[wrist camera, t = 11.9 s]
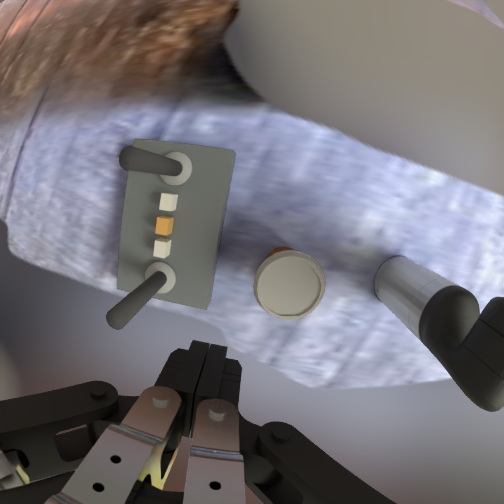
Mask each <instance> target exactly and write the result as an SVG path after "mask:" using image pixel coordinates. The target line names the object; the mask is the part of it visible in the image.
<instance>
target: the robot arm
mask: <svg viewBox="0 0 504 504" xmlns="http://www.w3.org/2000/svg"><path fill="white" fill-rule="evenodd" d="M374 289H375V293H376V295H377V297H378V298H379V299H380V301H381V302H382V303H383V304H384V305H385V306H387V308H388V309H389V310H390V311H391V312H392V313H393V314H394V315H395V316H396V317H397V318H398V319H399V320H400V321H401V322H402V323H403V324H404V325H405V326H406V327H407V328H408V329H409V330H410V331H411V332H412V333H413V334H414V335H415V336H416V337H417V338H418V339H419V340H420V341H421V342H422V343H423V344H424V345H425V346H426V347H427V348H428V349H429V350H430V352H431V353H432V354H433V355H434V356H435V357H436V358H437V359H438V360H439V362H440V363H441V364H442V365H443V367H444V368H445V369H446V370H447V372H448V373H449V374H450V376H451V377H452V378H453V380H454V381H455V382H456V384H457V385H458V386H459V387H460V389H461V390H462V391H463V392H464V394H465V395H466V396H468V398H470V400H471V401H472V402H473V403H475V404H476V405H477V406H479V407H480V408H482V409H484V410H487V411H490V412H494V411H498V410H500V409H501V408H502V407H503V406H504V297H495V298H493V299H491V300H490V302H489V303H488V304H487V305H486V307H485V308H484V309H483V311H482V313H481V314H480V309H479V304H478V301H477V299H476V298H475V296H474V295H473V294H472V293H471V292H469V291H468V290H466V289H464V288H462V287H461V286H459V285H457V284H455V283H454V282H452V281H450V280H448V279H446V278H444V277H442V276H440V275H439V274H437V273H435V272H433V271H431V270H429V269H427V268H425V267H423V266H422V265H420V264H418V263H416V262H414V261H412V260H410V259H408V258H406V257H402V256H396V257H392V258H390V259H388V260H387V261H386V262H384V263H383V264H382V265H381V267H380V268H379V270H378V271H377V273H376V276H375V280H374ZM209 347H210V348H209ZM226 353H227V347H226V346H220V345H215V344H211V345H210V343H205V342H201V341H196V340H193V341H192V343H191V345H190V348H189V350H185V349H180V348H178V349H177V350H175V351H174V352H172V353H171V354H170V356H169V358H168V360H167V362H166V364H165V365H164V367H163V369H162V371H161V373H160V375H159V377H158V379H157V381H156V383H155V385H154V386H153V387H149V388H147V389H145V390H144V391H143V392H142V394H141V395H140V396H121V395H118V392H117V390H116V388H115V387H114V386H112V385H111V384H109V383H107V382H103V381H90V382H86V383H83V384H78V385H74V386H70V387H66V388H62V389H57V390H53V391H48V392H44V393H39V394H34V395H29V396H24V397H19V398H14V399H8V400H3V401H0V504H245V486H244V481H245V483H246V485H247V486H248V487H249V488H250V489H251V490H252V492H253V493H254V494H255V495H256V496H257V497H258V498H259V499H260V500H261V501H262V502H263V503H264V504H396V503H395V502H393V501H391V500H390V499H388V498H387V497H385V496H384V495H382V494H381V493H379V492H378V491H376V490H375V489H374V488H372V487H371V486H369V485H368V484H366V483H365V482H364V481H362V480H361V479H359V478H358V477H357V476H355V475H354V474H353V473H351V472H350V471H348V470H347V469H346V468H344V467H343V466H342V465H340V464H339V463H338V462H337V461H335V460H334V459H333V458H331V457H330V456H329V455H328V454H326V453H325V452H324V451H323V450H321V449H320V448H319V447H318V446H316V445H315V444H314V443H313V442H311V441H310V440H309V439H308V438H306V437H305V436H304V435H303V434H302V433H301V432H299V431H298V430H297V429H296V428H294V427H293V426H292V425H290V424H287V423H284V422H269V423H266V424H264V425H263V426H262V427H261V426H258V425H256V424H253V423H251V422H249V421H247V420H246V419H244V418H243V417H242V416H241V414H240V413H239V410H238V402H239V392H240V382H241V372H242V367H241V365H240V363H239V362H238V360H234V359H228V358H226ZM84 424H86V427H84V428H80V429H77V430H73V431H70V432H66V433H63V434H59V435H56V434H57V433H58V432H60V431H64V430H67V429H71V428H75V427H78V426H81V425H84ZM191 427H192V428H191ZM190 431H191V438H192V445H191V450H190V455H189V462H188V469H187V477H186V485H185V492H171V491H163V490H162V489H163V486H164V483H165V480H166V478H167V476H168V473H169V471H170V469H171V466H172V464H173V462H174V459H175V457H176V454H177V452H178V446H179V444H180V442H181V438H182V436H185V437H189V435H190ZM76 468H77V470H75V471H70V470H73V469H76ZM67 471H69V472H67ZM63 472H65V473H63ZM60 473H62V474H60ZM56 474H59V475H56ZM53 475H56V476H53ZM49 476H53V477H50V478H46V479H43V480H40V481H36V482H33V483H29V481H33V480H37V479H41V478H45V477H49Z"/></svg>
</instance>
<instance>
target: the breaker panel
mask: <svg viewBox="0 0 504 504" xmlns="http://www.w3.org/2000/svg"><path fill="white" fill-rule="evenodd" d="M133 146H134V147H137V148H140V149H143V150H146V151H149V152H153V153H156V154H159V155H162V156H166V155H167V154H169V153H172V152H181V153H183V154H185V155H187V156H188V157H189V158H190V160H191V162H192V165H193V171H192V175H191V177H190V178H189V179H188V181H186V182H185V183H183V184H181V185H170V184H167V183H166V182H164V181H163V179H162V178H161V176H160V174H152V173H145V172H136V171H128V178H127V184H126V191H125V198H124V206H123V214H122V223H121V233H120V244H119V256H118V272H117V289H119V290H123V291H127V292H132V291H133V290H134V289H135V288H137V287H138V286H139V285H140V284H141V283H143V282H144V281H145V273H146V270H147V268H148V267H149V266H150V265H152V264H153V263H155V262H158V261H162V262H166V263H168V264H169V265H171V266H172V267H173V269H174V270H175V273H176V283H175V285H174V287H173V288H172V289H171V290H170V291H169V292H167V293H156V294H155V295H154V296H153V297H152V298H155V299H159V300H164V301H168V302H173V303H177V304H182V305H186V306H191V307H196V308H200V309H205V310H207V308H208V306H209V303H210V301H211V295H212V288H213V282H214V276H215V269H216V263H217V257H218V251H219V245H220V239H221V233H222V227H223V221H224V216H225V210H226V204H227V199H228V193H229V188H230V182H231V177H232V172H233V166H234V161H235V156H236V153H235V152H234V150H228V149H221V148H215V147H208V146H200V145H193V144H185V143H176V142H167V141H157V140H146V139H134V144H133ZM160 216H168V217H174V221H173V228H172V233H171V234H169V235H167V236H166V235H161V234H156V233H155V231H156V224H157V217H160Z"/></svg>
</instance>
